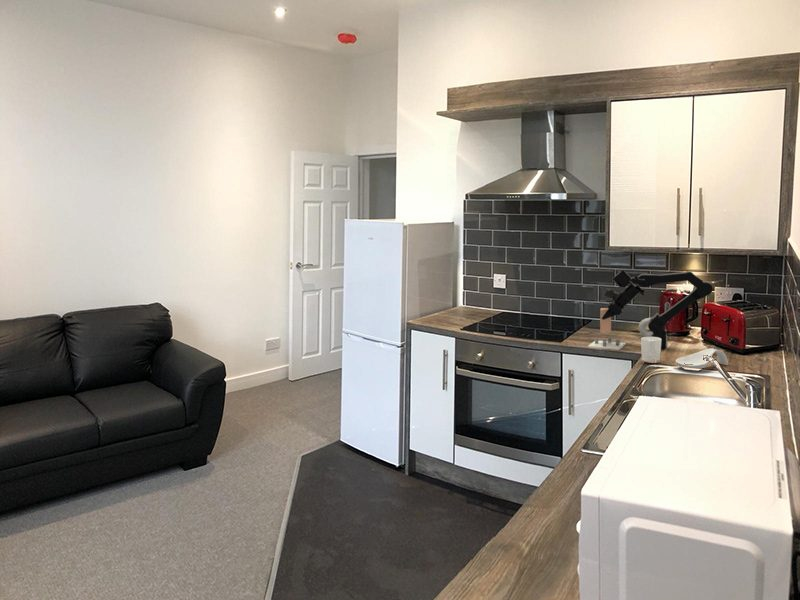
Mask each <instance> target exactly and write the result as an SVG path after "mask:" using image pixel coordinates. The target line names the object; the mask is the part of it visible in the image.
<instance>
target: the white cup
mask: <svg viewBox="0 0 800 600" xmlns="http://www.w3.org/2000/svg"><path fill="white" fill-rule="evenodd" d="M661 340H662V339H661V338H658V337H644V336H643V337H641V338H640V343H641V344H640V351H641V361H642V360H644V361H656V360H660V359H661V358H660V357H661V350H662V349H661Z"/></svg>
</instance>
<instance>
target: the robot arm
mask: <svg viewBox="0 0 800 600" xmlns="http://www.w3.org/2000/svg"><path fill="white" fill-rule="evenodd" d="M611 281H613V282H614V284H616V286H618V287H619V288H620V289H621V288H624V289H623V290H622V291H620V292H617V291H615V290H614V289H612V288H606V289H605V291H604V294H603V296H605V297H606V298H607V297H608V298H609V299H610V301H609V303H608V305H607V308H608V310H607V312H606V313H605V314H604V316H603V317H602V319H603V320H604V319H607V318H610V317H611V318H612V317H616V316H620V315H621V314H622V313H623V309H625V307H626V306H627V305H628V304H631V302H632V300H634V299H635V298H636V297H637V296H638V295H639V294H641V295H642V296H645V290H646V289H645V288H647V287H650V286H652V287H653V286H655V285H658V284H664V283H665V284H667V283H675V282H677V283H679V282H688V283H690V284H691V285H692V286H693V287H694V288H693V289H692V290H691V292H689V294H687V295H686V296H685V297H683V298H682V299H680V301H678V302H676V303H675V304H673V305H672V306H671V307H669V309H667V310H665V312H663V313H661V314H659V312H656V313H655V314H654V315H653V316H651V317H650V316H649V318H650V320H649V322H648V325H647V327H648V331H652V332H653V334H652V337H658V338H661V339H662V340H661V350H664V349H665V350H666V349H667V348H668V334H667V333H668V332H667V331H668V330H667V328H666V327H665V326H666V325H667V324H668V322H669V321H670V320H671V319H673V318H674V317H676V316H678V314H680V313H681V312H683V311H684V310H686V309H687V308H688V307H689V306H690V305H692V304H693V303H695V302H696V301H699V300H700V299H704V298H705V297H707V296H710V295H711V294H712V293H713V289H714V288H713V286H712V283H710V282H709V281H707V280H703V279H702V278H701V279H700V278H699V277H698V276H696V275H695V274H694V273H693V272H692V271H690V270H689V271H683V272H681V271H680V272H673V273H661V274H655V273H643V272H642V273H641V274H639V275H637V276H632V277H631V275H629V274H628V273H627V272H626V271H625V270H624V269H621V271H620V272H618V273H617V274H615V275H614V276H613V277H612V278H611ZM635 284H636V285H635Z"/></svg>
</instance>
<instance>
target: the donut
mask: <svg viewBox="0 0 800 600" xmlns="http://www.w3.org/2000/svg"><path fill="white" fill-rule="evenodd" d="M649 320H650V317H648V318H647V317H646V318H644V319H642V320H641V321H640V322H639V324H638V331H639V333H640V335H642V336H643V337H652V334H653V332H652V331H650V330H647V327H648V322H649Z"/></svg>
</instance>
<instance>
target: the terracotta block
mask: <svg viewBox="0 0 800 600" xmlns="http://www.w3.org/2000/svg"><path fill="white" fill-rule="evenodd" d="M607 310H608V307H601V308H600V311H599V312H600V315H599V317H600V319H599V321H600V322H599V325H600V326H599V328H600V329H599V330H600V331H599V333H600V334H611V333H612V317H610V318H607V319H604V320H603V319H602V317H603V316H604V314H605V313H606V312H607Z"/></svg>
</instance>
